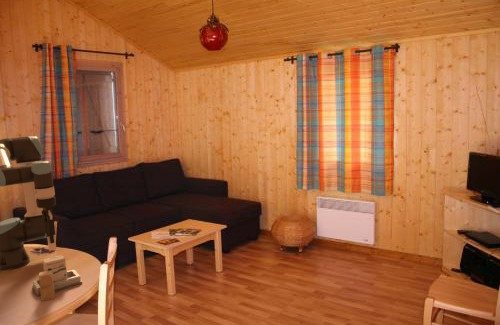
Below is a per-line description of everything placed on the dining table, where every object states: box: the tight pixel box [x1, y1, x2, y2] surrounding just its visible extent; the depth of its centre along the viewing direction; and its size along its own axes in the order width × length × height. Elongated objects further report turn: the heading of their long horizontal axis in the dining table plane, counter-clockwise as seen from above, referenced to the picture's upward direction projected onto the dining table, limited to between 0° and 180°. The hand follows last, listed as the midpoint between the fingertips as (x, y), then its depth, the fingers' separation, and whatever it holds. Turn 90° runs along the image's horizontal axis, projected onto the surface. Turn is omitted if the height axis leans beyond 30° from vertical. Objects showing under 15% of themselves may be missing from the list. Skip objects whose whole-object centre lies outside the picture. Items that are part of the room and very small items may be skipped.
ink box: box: [42, 254, 68, 282], centre depth 183 cm, size 8×5×12 cm, turn 127°
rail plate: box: [31, 269, 83, 298], centre depth 184 cm, size 12×18×4 cm, turn 128°
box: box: [38, 270, 56, 302], centre depth 172 cm, size 5×4×11 cm
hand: (52, 249), depth 181 cm, fingers closed
